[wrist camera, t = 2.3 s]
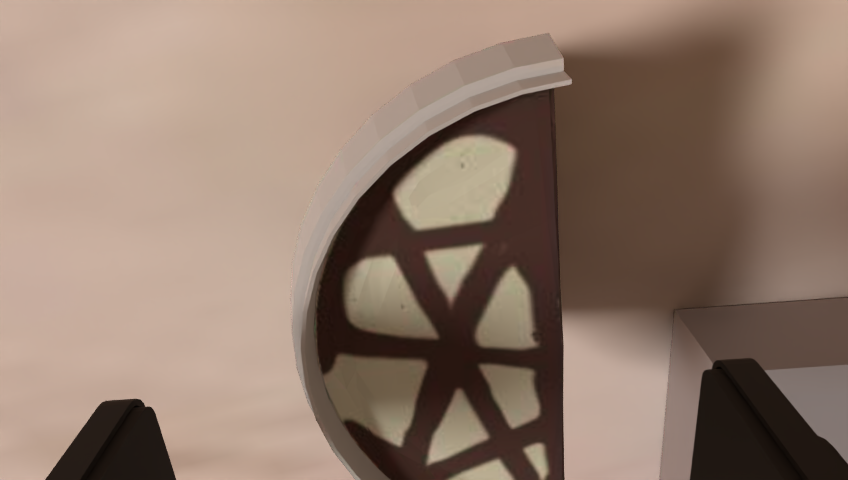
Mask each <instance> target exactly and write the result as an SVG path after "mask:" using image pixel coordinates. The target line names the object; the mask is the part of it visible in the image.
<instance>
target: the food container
mask: <svg viewBox="0 0 848 480" xmlns="http://www.w3.org/2000/svg"><path fill="white" fill-rule="evenodd" d="M571 84H572V79H571V78H570V77H569V76H568V75H567V74H566V73H565V72H564V58H563V56H562V54H561V53H560V51H559V49H558V48H557V46H556V44H555V43H554V41H553V39H552V38H551V36H550V34H549V33H547V34H542V35H537V36H532V37H527V38H522V39H518V40H513V41H508V42H503V43H500V44H497V45H494V46H491V47H489V48H486V49H483V50H481V51H478V52H475V53H472V54H470V55H467V56H464V57H462V58H459V59H456V60H454V61H452V62H450V63H448V64H446V65H445V66H443V67H441V68H439V69H437V70H436V71H434V72H432V73H430V74H429V75H427V76H425V77H423V78H421V79H420V80H418V81H416V82H414V83H412V84H411V85H409V86H408V87H407V88H405V89H404V90H403V91H402V92H400V93H399V94H398V95H397V96H395V97H394V98H393V99H392V100H390V101H389V102H388V103H386V104H385V105H384V106H383V107H381V108H380V109H379V110H378V111H376V112H375V113H374V114H372V116H371V117H370V118H369V119H368V120H367V121H366V122H365V123H364V124H363V125H362V127H361V128H360V129H359V130H358V131H357V132H356V133H355V134H354V135H353V136H352V137H351V139H350V140H349V141H348V142H347V143H346V144H345V145H344V146H343V147H342V148H341V150H340V151H339V153H338V154H337V156H336V158H335V159H334V161H333V162H332V164H331V165H330V167H329V168H328V170H327V171H326V173H325V175H324V176H323V178H322V179H321V181H320V182H319V184H318V185H317V188H316V190H315V192H314V195H313V197H312V199H311V202H310V204H309V206H308V209H307V211H306V213H305V216H304V218H303V220H302V223H301V226H300V231H299V235H298V239H297V244H296V248H295V252H294V257H293V261H292V277H291V298H290V301H291V321H292V335H293V343H294V350H295V358H296V366H297V370H298V373H299V376H300V380H301V383H302V386H303V389H304V392H305V395H306V398H307V401H308V404H309V406H310V407H311V409H312V411H313V413H314V415H315V418H316V421H317V422H318V424H319V426H320V428H321V430H322V432H323V434H324V436H325V437H326V439H327V441H328V443H329V445H330V447H331V449H332V450H333V452H334V453H335V454H336V456H337V457H338V458H339V460H340V461H341V462H342V463H343V465H344V466H345V467H346V469H347V470H348V471H349V472H350V474H351V475H352V476H353V477H354V479H355V480H564V437H563V329H562V311H561V292H560V265H559V234H558V200H557V164H556V133H555V107H554V88H556V87H561V86H566V85H571Z"/></svg>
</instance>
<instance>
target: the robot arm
mask: <svg viewBox="0 0 848 480" xmlns="http://www.w3.org/2000/svg"><path fill="white" fill-rule="evenodd" d="M45 480H176V478H175V475H174V471H173V468H172V465H171V462H170V459H169V456H168V452H167V449H166V446H165V443H164V440H163V437H162V433H161V430H160V427H159V424H158V421H157V418H156V414H155V412H154V410H153V409H152V408H151V407H145V405H144V403H143V402H142V401H141V400H139V399H127V400H112V401H105V402H102V403H101V404H100V405H99V406H98V408H97V409H96V410H95V412H94V413H93V414H92V416H91V417H90V419H89V420H88V421H87V423H86V424H85V426H84V427H83V428H82V430H81V431H80V432H79V434H78V435H77V437H76V438H75V439H74V441H73V442H72V444H71V445H70V446H69V448H68V449H67V450H66V452H65V453H64V455H63V456H62V457H61V459H60V460H59V461H58V463H57V464H56V466H55V467H54V468H53V470H52V471H51V473H50V474H49V475H48V477H47V478H46V479H45ZM690 480H848V463H847V462H846V461H845V460H844V459H843V457H842V456H841V455H840V454H839V453H838V451H837V450H836V449H835V448H834V447H833V446H832V445H831V444H830V443H829V442H828V441H827V440H826V439H824V438H822V437H820V436H817V434H816V433H815V432H814V431H813V429H812V428H811V427H810V426H809V425H808V423H807V422H806V421H805V420H804V418H803V417H802V416H801V415H800V414H799V412H798V411H797V410H796V409H795V407H794V406H793V405H792V404H791V403H790V401H789V400H788V399H787V398H786V396H785V395H784V394H783V393H782V392H781V390H780V389H779V388H778V387H777V385H776V384H775V383H774V382H773V381H772V379H771V378H770V377H769V376H768V374H767V373H766V372H765V371H764V370H763V368H762V367H761V366H760V365H759V363H758V362H757V361H755V360H754V359H752V358H741V359H726V360H717V361H715V362H714V364H713V365H712V369H708V370H704V372H703V374H702V379H701V387H700V396H699V405H698V413H697V422H696V430H695V439H694V448H693V456H692V465H691V473H690Z"/></svg>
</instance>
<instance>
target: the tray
mask: <svg viewBox="0 0 848 480" xmlns="http://www.w3.org/2000/svg"><path fill="white" fill-rule="evenodd" d="M741 358H752V359H754V360H755V361H757V362H758V363H759V365H760V366H761V367H762V368H763V370H764V371H765V372H766V373H767V374H768V376H769V377H770V378H771V379H772V381H773V382H774V383H775V384H776V385H777V387H778V388H779V389H780V390H781V392H782V393H783V394H784V395H785V396H786V398H787V399H788V400H789V401H790V403H791V404H792V405H793V406H794V407H795V409H796V410H797V411H798V412H799V414H800V415H801V416H802V417H803V418H804V420H805V421H806V422H807V423H808V425H809V426H810V427H811V428H812V429H813V431H814V432H815V433H816V434H817V436H820V437H822V438H824V439H826V440H827V441H828V442H829V443H830V444H831V445H832V446H833V447H834V448H835V449H836V450H837V451H838V453H839V454H840V455H841V456H842V457H843V459H844V460H845V461H846V462H847V463H848V297H847V298H833V299H819V300H805V301H791V302H777V303H763V304H749V305H735V306H721V307H707V308H693V309H679V310H674V321H673V333H672V344H671V355H670V367H669V378H668V389H667V400H666V412H665V423H664V434H663V446H662V457H661V468H660V480H690V473H691V465H692V456H693V448H694V439H695V430H696V422H697V413H698V405H699V396H700V387H701V379H702V374H703V372H704V370H708V369H712V365H713V364H714V362H715V361H717V360H726V359H741Z"/></svg>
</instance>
